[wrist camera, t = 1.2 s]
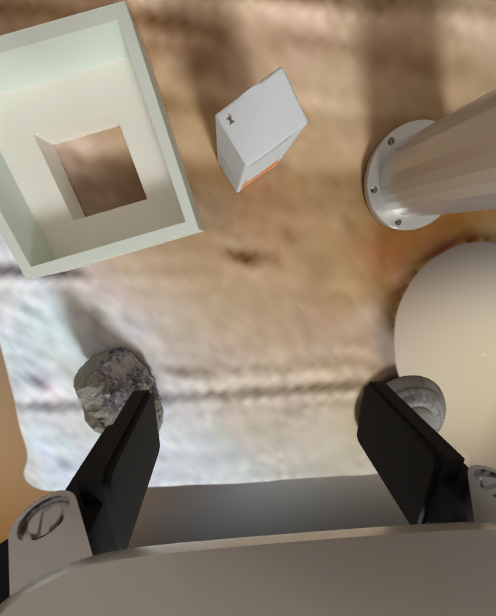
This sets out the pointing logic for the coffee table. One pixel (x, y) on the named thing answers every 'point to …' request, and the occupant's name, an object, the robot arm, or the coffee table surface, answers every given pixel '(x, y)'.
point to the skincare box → (258, 129)
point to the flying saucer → (421, 398)
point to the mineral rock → (112, 386)
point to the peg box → (77, 123)
